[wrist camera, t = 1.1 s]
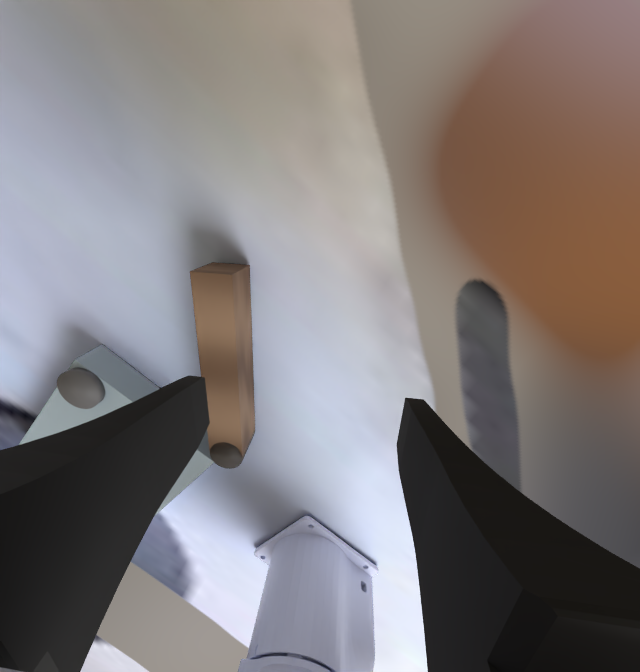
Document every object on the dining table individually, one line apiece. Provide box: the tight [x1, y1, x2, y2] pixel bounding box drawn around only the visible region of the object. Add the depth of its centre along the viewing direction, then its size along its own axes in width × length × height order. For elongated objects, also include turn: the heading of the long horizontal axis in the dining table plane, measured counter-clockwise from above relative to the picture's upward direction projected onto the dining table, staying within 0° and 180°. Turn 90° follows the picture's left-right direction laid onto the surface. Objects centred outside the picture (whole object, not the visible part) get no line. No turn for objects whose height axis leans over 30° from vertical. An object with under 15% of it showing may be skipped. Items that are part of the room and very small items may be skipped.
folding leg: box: [190, 262, 255, 468], centre depth 21 cm, size 14×2×3 cm, turn 177°
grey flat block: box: [19, 344, 214, 515], centre depth 26 cm, size 12×14×3 cm
